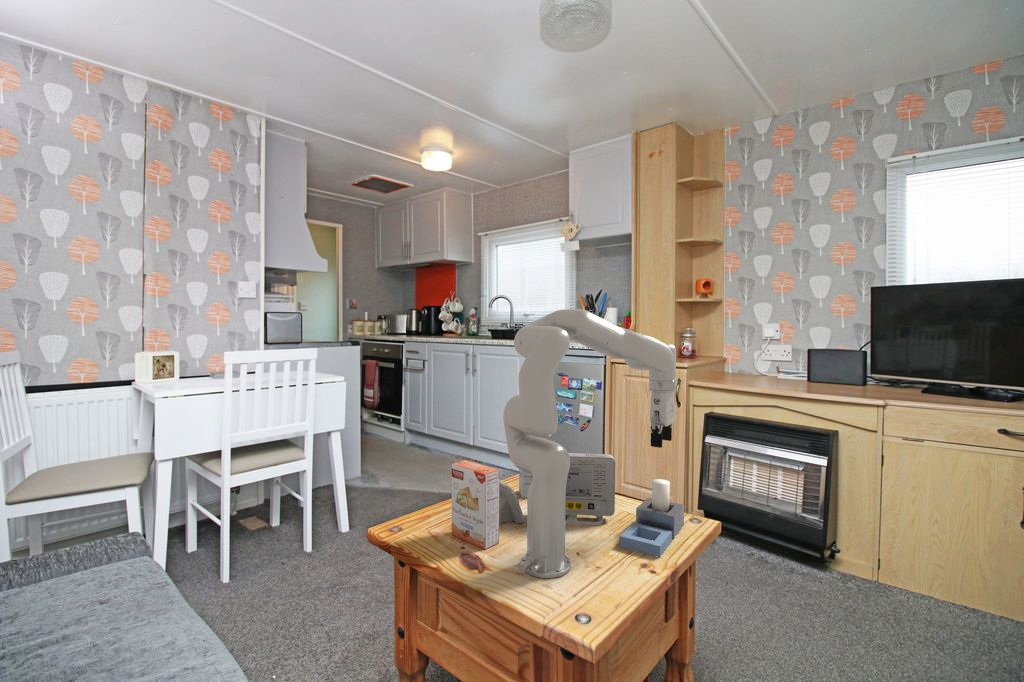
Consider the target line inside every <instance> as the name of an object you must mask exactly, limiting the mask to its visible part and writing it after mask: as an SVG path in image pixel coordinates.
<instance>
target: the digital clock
mask: <svg viewBox="0 0 1024 682" xmlns="http://www.w3.org/2000/svg"><path fill="white" fill-rule="evenodd" d="M510 521H511V522H515V523H517V524H523V523H524V521H525V516H524V514H523V511H522V508H521V505H520V502H519V499H518V497H517V493H516V491H515V490H514V489H513V488H512V487H510V486H509V485H507V484H506V483H505V482H504V481H502V480H501V479H500V478H499V524H504V522H506V523H510Z"/></svg>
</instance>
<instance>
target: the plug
mask: <svg viewBox="0 0 1024 682" xmlns="http://www.w3.org/2000/svg"><path fill="white" fill-rule="evenodd" d="M670 485H671V482H670V481H669V480H667V479H661V478H655V479H652V481H651V498H652V509H654V510H659V511H664V512H669V502H670V493H671V491H670V489H671V488H670Z"/></svg>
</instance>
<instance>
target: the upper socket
mask: <svg viewBox="0 0 1024 682" xmlns="http://www.w3.org/2000/svg"><path fill="white" fill-rule="evenodd" d="M635 509H636V510H635V523H638V524H642V525H646V526H651V527H655V528H659V529H664V530H668V531H672V538H673V539H672V540H675V539H676V537H677V536H678V535H679V533H680V532H681V531H682V529H683V528H684V527H685V504H682V503H677V502H672V501H669V512H664V511H659V510H654V509H652V497H647V498H646V499H645V500H643V502H642V503H641V504H639V505H638V506H637V507H636V508H635ZM683 526H684V527H683ZM682 527H683V528H682ZM681 528H682V529H681ZM680 530H681V531H680ZM679 531H680V532H679ZM678 532H679V533H678ZM677 534H678V535H677ZM676 535H677V536H676ZM675 536H676V537H675ZM674 538H675V539H674Z"/></svg>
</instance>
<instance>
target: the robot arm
mask: <svg viewBox="0 0 1024 682" xmlns="http://www.w3.org/2000/svg"><path fill="white" fill-rule="evenodd" d="M571 342H575V343H577V344H580V345H582V346H584V347H587V348H589V349H591V350H593V351H595V352H598V353H600V354H602V355H604V356H608V357H611V358H617V359H622V360H623V361H624V363H625V365H627V366H628V367H630V368H631V369H633V370H640V371H648V391H649V392H651V393H650V394H651V396H650V403H649V404H650V405H649V406H650V407H649V424H650V446H651V447H652V448H659V449H661V448H663V441H667V442H671V441H672V440H673V439H672V438H673V436H672V435H673V433H672V432H673V431H672V430H673V428H672V427H673V424H674V422H675V421H676V404H675V401H676V400H675V392H676V385H677V383H676V380H677V379H676V378H677V377H676V376H677V375H676V373H677V372H676V371H677V348H676V346H675V345H674V344H672V343H671V344H670V343H664V342H662V341H660V340H658V339H656V338H654V337H653V336H649V335H647V334H643V333H640V332H636V331H633V330H630V329H628V328H625V327H621V326H618V325H616V324H614V323H613V322H612V323H611V321H608V320H606V319H605V318H602V317H600V316H599V315H597V314H595V313H593V312H590V311H588V310H586V309H582V308H581V309H580V308H571V309H569V308H568V309H558V310H556V311H553V312H551V313H548V314H547V315H545V316H542V317H540V318H538V319H536V320H534V321H532V322H530V323H527V324H526V325H524V326H522V327H521V328H520V329H518V331H517V332H516V334H515V337H514V339H513V346H514V349H515V351H516V353H517V354H518V355H519V356H521V357H522V358H525V359H524V361H523V362H522V365H521V367H520V369H519V372H518V378H517V380H518V382H517V383H518V391H519V394H516V395H513V396H512V397H510V399H508V400H507V401H506V404H505V406H504V409H503V416H502V420H503V427H504V433H505V438H506V446H507V451H508V455H509V458H510V461H511V463H512V464H513V465H514V466H515V467H516V468H518V470H519V469H521V470H523V471H525V472H527V473H529V474H531V475H533V480H532V482H531V485H530V487H529V490H528V495H527V498H526V504H527V507H526V509H527V511H526V514H527V515H526V516H527V518H526V523H527V524H526V528H527V529H526V530H527V531H526V536H527V537H526V541H527V542H526V552H525V554H524V555H523V556H521V559H520V564H519V566H518V569H519V570H518V571H520V572H521V573H527V574H528V575H530V576H531V577H532V576H533V577H537V578H541V579H542V578H543V579H553V578H561V577H563V576H564V575H566V574H568V573H569V572H570V571H571V569H572V561H571V559H570V558H569V557H568V556H567V555H566V524H565V520H566V514H565V508H566V505H565V499H566V483H567V477H568V472H569V468H570V457H569V454H568V453H569V452H568V450H567V449H566V448H565V447H564V446H563V445H561V444H560V443H558V442H556V441H553V440H551V439H548V438H549V437H551V436H553V435H554V434H555V433H556V431H557V430H558V426H559V416H558V408H557V401H556V395H555V388H554V387H555V386H554V377H555V376H554V375H555V373H556V370H557V367H558V365H559V364H560V363H561V362H562V360H563V359H564V357H565V356H566V355H567V353H568V352H569V349H570V343H571Z"/></svg>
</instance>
